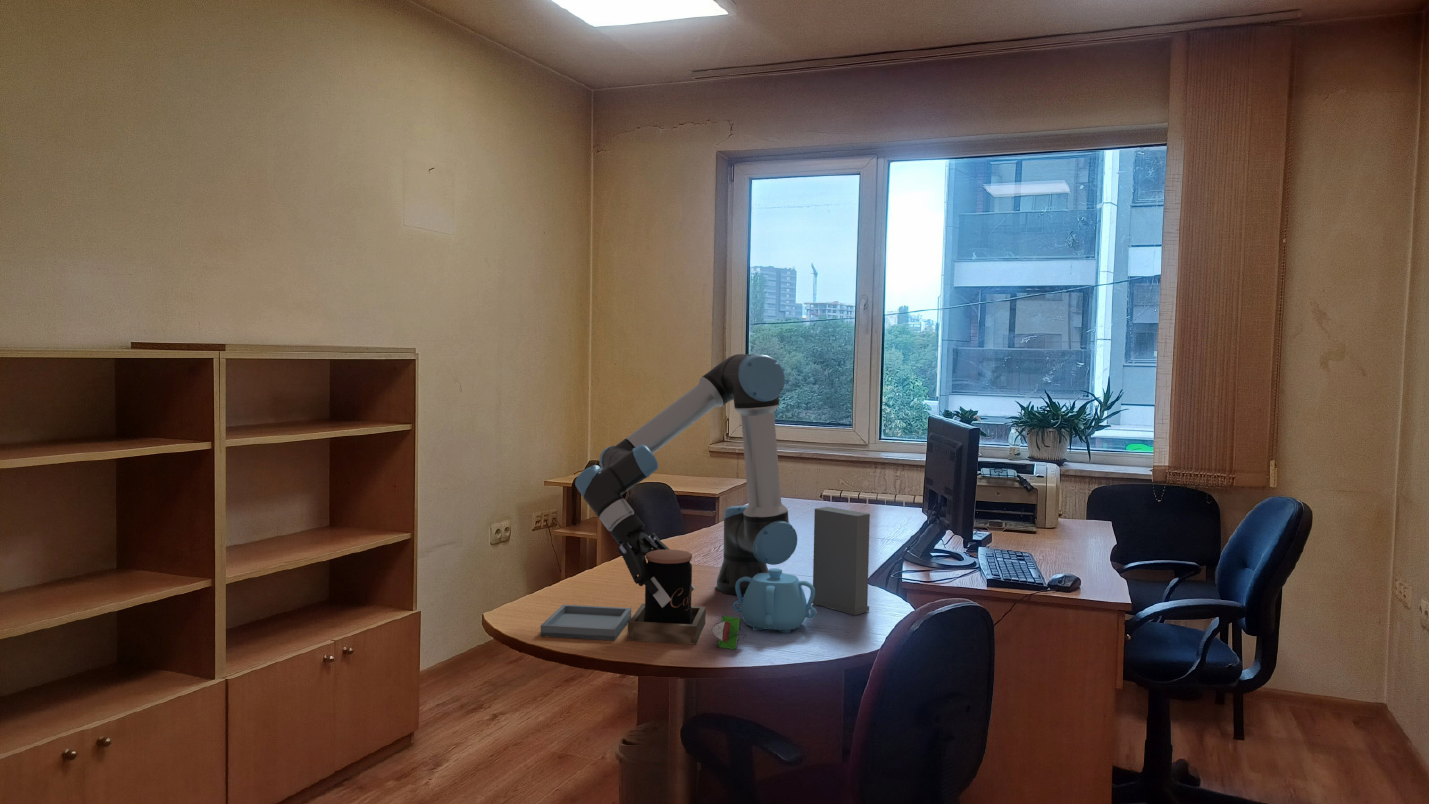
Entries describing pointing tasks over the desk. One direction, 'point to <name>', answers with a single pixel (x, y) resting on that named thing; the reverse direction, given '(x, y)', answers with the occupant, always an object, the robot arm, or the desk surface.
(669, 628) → the walnut collar
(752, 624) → the decorative pot
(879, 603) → the desk surface
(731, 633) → the geometric puzzle
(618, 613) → the grey tray
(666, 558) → the coffee jar
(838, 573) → the upright grey slab box
